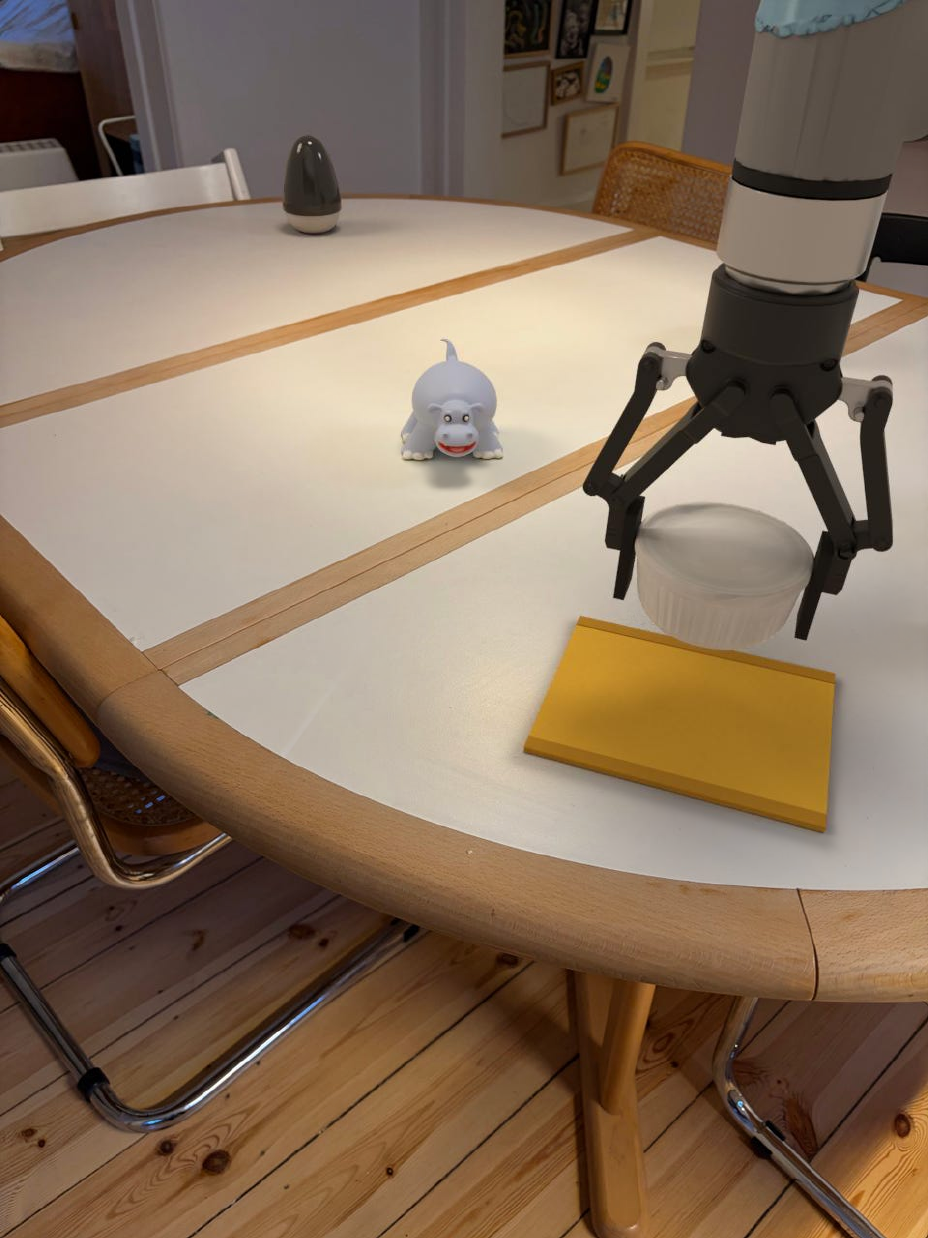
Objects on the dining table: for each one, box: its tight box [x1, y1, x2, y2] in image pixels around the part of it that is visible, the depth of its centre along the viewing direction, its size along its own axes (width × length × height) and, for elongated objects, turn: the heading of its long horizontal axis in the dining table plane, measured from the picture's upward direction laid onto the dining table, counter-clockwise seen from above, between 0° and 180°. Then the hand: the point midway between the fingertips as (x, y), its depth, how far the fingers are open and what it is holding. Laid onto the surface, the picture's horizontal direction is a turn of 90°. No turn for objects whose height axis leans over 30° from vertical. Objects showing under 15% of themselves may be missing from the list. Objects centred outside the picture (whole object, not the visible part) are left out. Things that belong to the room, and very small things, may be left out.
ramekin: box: [635, 500, 815, 651], centre depth 60 cm, size 11×11×5 cm
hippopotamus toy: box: [400, 338, 504, 461], centre depth 97 cm, size 11×15×10 cm
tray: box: [522, 615, 837, 833], centre depth 68 cm, size 20×16×1 cm
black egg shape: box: [282, 133, 343, 235], centre depth 161 cm, size 10×10×15 cm
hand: (709, 607), depth 62 cm, fingers closed on ramekin, 11 cm apart
